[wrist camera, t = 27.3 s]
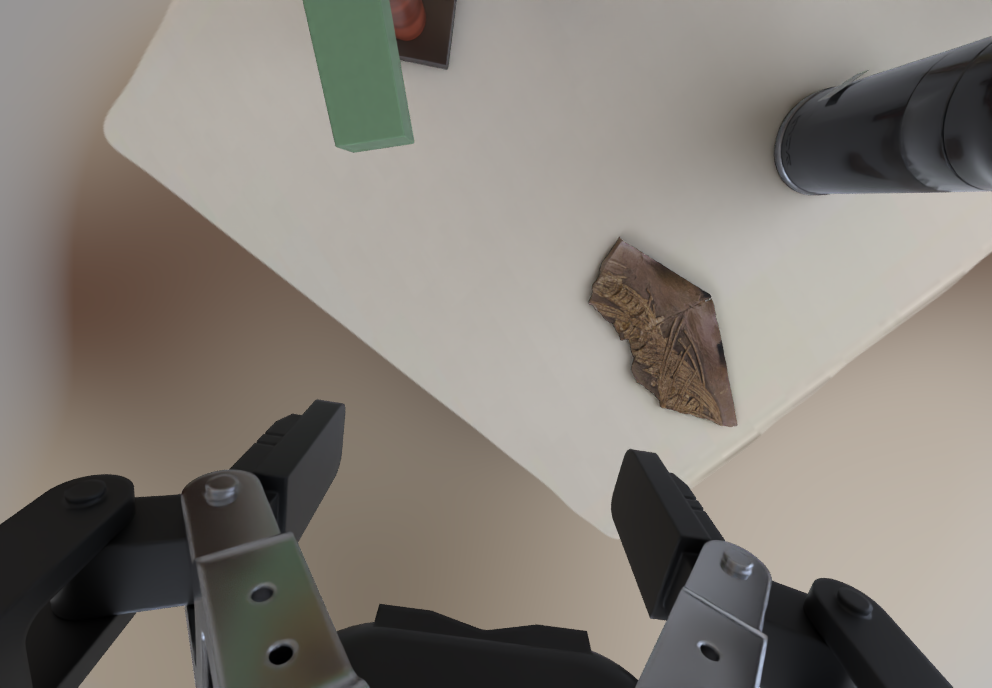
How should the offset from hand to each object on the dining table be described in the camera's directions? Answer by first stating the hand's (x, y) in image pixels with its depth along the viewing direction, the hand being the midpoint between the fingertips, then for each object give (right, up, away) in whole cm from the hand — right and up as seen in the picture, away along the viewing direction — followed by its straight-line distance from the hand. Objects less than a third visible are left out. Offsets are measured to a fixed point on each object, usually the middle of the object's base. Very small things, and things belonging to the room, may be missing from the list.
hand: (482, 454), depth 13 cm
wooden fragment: (+20, +3, +37) cm, 42 cm away
